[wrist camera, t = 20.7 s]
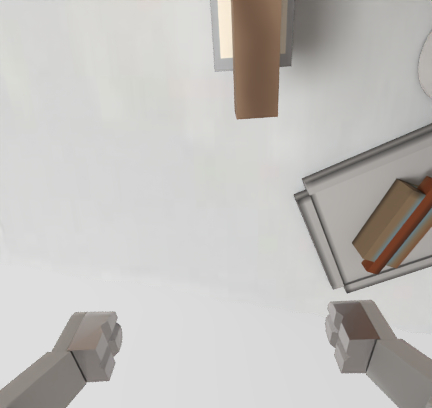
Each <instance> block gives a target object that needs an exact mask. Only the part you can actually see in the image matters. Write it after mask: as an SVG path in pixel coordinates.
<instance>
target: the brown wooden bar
mask: <svg viewBox="0 0 432 408" xmlns="http://www.w3.org/2000/svg"><path fill="white" fill-rule="evenodd" d="M281 8H282V0H231V18H232V46H233V74H234V103H235V114H236V118H237V119H250V118H264V117H278V93H279V65H280V36H281Z"/></svg>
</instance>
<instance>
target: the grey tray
mask: <svg viewBox="0 0 432 408" xmlns="http://www.w3.org/2000/svg"><path fill="white" fill-rule="evenodd" d="M302 180H303V183H304V186H305V188H306V190H304V191H301V192H299V193H297V194H294V197H295V200H296V202H297V205H298V207H299V209H300V212H301V214H302V217H303V219H304V222H305V224H306V226H307V229H308V231H309V234H310V236H311V239H312V241H313V243H314V246H315V248H316V251H317V253H318V256H319V258H320V260H321V263H322V265H323V268H324V270H325V273H326V275H327V278H328V280H329V282H330V284H331V286H332V288H333V290H334V289H337V288H340V287H344V289H345V290H346V292H347V293H350V292H353V291H356V290H359V289H362V288H365V287H369V286H372V285H375V284H378V283H381V282H384V281H387V280H390V279H393V278H397V277H400V276H403V275H406V274H409V273H412V272H415V271H418V270H421V269H424V268H428V267H431V266H432V124H429V125H427V126H425V127H422V128H420V129H418V130H415V131H413V132H410V133H408V134H406V135H403V136H401V137H399V138H396V139H394V140H392V141H389V142H387V143H385V144H382V145H380V146H378V147H375V148H373V149H371V150H368V151H366V152H363V153H361V154H359V155H356V156H354V157H352V158H349V159H347V160H345V161H342V162H340V163H338V164H335V165H333V166H331V167H328V168H326V169H324V170H321V171H319V172H317V173H314V174H312V175H309V176H307V177H305V178H302Z"/></svg>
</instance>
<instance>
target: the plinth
mask: <svg viewBox="0 0 432 408" xmlns="http://www.w3.org/2000/svg"><path fill="white" fill-rule="evenodd" d="M294 5H295V0H282V8H281V36H280V65H279V67H285V66H291V61H292V42H293V23H294ZM210 7H211V22H212V38H213V53H214V69H215V72H219V71H233V46H232V18H231V0H210Z"/></svg>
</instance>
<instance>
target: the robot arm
mask: <svg viewBox="0 0 432 408" xmlns="http://www.w3.org/2000/svg"><path fill="white" fill-rule="evenodd" d="M418 75H419V81H420V84H421V86H422V88H423V90H424V91H425V93H426V94H427V95H428V96H429V97H431V98H432V31H431V33H430V34H429V36H428V38H427V39H426V41H425V44H424V46H423V48H422V51H421V54H420V59H419V65H418ZM328 311H329V315H328V316H327V317H326V322H325V325H326V333H327V337H328V340H329V342H330V344H331V345H332V346H333V347H335V348H336V349H335V354H334V355H335V358H336V361H337V363H338V366H339V369H340V371H341V373H366V375H367V376H368V377H369V378H370V379H371V380H372V381H373V382H374V383H375V384H376V385H377V386H378V387H379V388H380V389H381V390H382V391H383V392H384V393H385V394H386V395H387V396H388V397H389V398H390V399H391V400H392V401H393V402H394V403H395V404H396V405H397V406H398V407H399V408H432V360H431V359H430V358H429V357H427V356H426V355H424V354H423V353H421V352H420V351H419V350H417V349H416V348H414V347H413V346H411V345H410V344H408V343H407V342H406V341H404V340H403V339H397V337H396V336H395V334H394V333H393V331H392V329H391V328H390V326H389V325H388V323H387V321H386V320H385V318H384V317H383V315H382V313H381V312H380V310H379V309H378V307H377V305H376V304H375V302H374V301H372V300H359V301H356V300H355V301H337V302H330V303H329V304H328ZM116 321H117V315H116V312H76V313H74V314H73V315H72V316H71V318H70V319H69V321H68V323H67V325H66V327H65V328H64V330H63V332H62V334H61V336H60V337H59V339H58V341H57V343H56V345H55V346H54V348H53V350H52V352H47V353H46V354H45V355H43V356H42V357H41V358H40V359H38V360H37V361H36V362H35V363H34V364H32V365H31V366H30V367H28V368H27V369H26V370H25V371H24V372H22V373H21V374H20V375H19V376H17V377H16V378H15V379H14V380H12V381H11V382H10V383H9V384H8V385H6V386H5V387H4V388H2V389H1V390H0V408H66V407H67V406H68V405H69V403H70V402H71V401H72V400H73V399H74V398H75V396H76V395H77V394H78V393H79V392H80V391H81V389H82V388H83V387H84V386H85V385H86V382H99V381H109V380H110V377H111V374H112V371H113V368H114V365H115V361H114V358H113V357H114V356H115V355H116V354H117V353H118V352H119V350H120V347H121V343H122V329H121V326H120V325H119V324H118V323H116Z"/></svg>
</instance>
